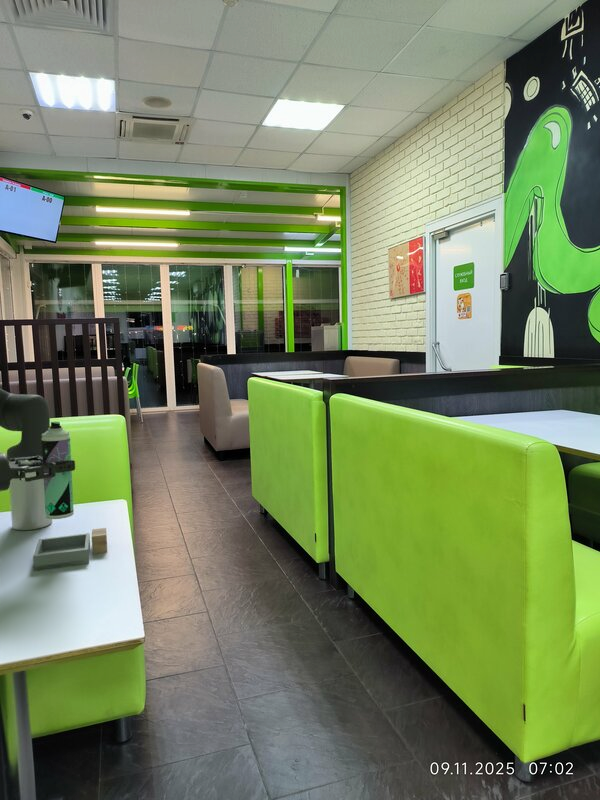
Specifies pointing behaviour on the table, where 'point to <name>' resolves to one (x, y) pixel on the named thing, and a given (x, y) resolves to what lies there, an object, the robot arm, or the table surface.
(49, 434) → the spray can
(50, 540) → the tray
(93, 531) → the chock block
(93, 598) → the table surface
